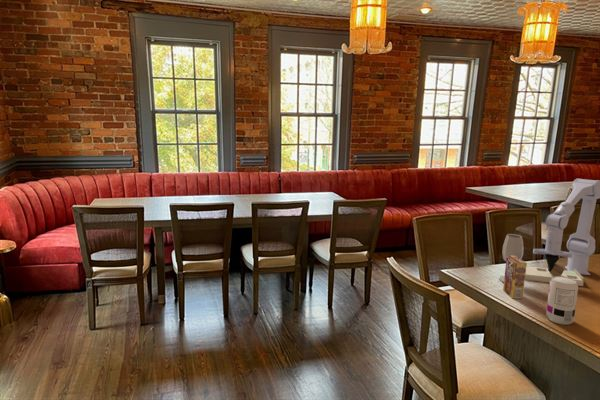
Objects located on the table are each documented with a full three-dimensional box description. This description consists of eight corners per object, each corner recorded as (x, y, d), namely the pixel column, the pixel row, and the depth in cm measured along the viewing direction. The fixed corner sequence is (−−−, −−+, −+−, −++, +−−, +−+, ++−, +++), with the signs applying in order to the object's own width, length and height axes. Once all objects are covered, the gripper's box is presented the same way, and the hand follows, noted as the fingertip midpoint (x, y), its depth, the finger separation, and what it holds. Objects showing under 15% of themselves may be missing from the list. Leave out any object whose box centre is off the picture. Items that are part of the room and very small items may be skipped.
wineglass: (499, 283, 172) (504, 237, 169) (498, 276, 180) (502, 232, 177) (522, 286, 169) (527, 239, 165) (519, 279, 177) (524, 234, 173)
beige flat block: (518, 270, 188) (519, 263, 187) (574, 276, 180) (575, 269, 180) (523, 279, 177) (523, 272, 176) (583, 286, 169) (584, 278, 169)
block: (548, 269, 177) (552, 262, 176) (558, 273, 176) (562, 266, 174) (550, 273, 174) (554, 266, 172) (559, 277, 173) (564, 270, 171)
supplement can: (540, 317, 142) (545, 277, 139) (555, 313, 145) (560, 274, 142) (563, 327, 134) (568, 286, 132) (578, 322, 138) (584, 282, 135)
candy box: (523, 299, 157) (527, 262, 154) (512, 298, 157) (516, 262, 154) (513, 290, 165) (516, 255, 163) (502, 289, 166) (505, 255, 163)
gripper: (537, 241, 171) (533, 271, 174) (576, 245, 167) (571, 276, 169) (533, 237, 178) (529, 266, 180) (571, 241, 173) (566, 271, 175)
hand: (549, 271), depth 175 cm, fingers closed, pressing on block
